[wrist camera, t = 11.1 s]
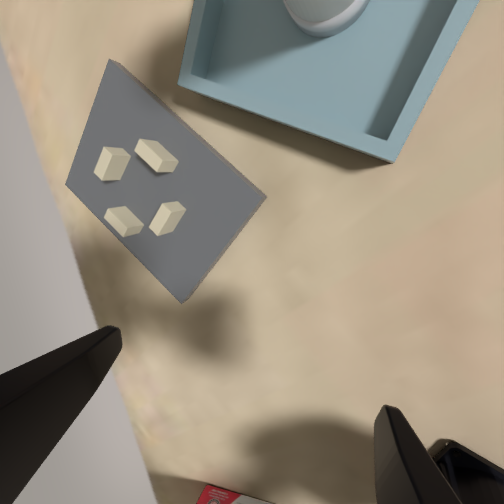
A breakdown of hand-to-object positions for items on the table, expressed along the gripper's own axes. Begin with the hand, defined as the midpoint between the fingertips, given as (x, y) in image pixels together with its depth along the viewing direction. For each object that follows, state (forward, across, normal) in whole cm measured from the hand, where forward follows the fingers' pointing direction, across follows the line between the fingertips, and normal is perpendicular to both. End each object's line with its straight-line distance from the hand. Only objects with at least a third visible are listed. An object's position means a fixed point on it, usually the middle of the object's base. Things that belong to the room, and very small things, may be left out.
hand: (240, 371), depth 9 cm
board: (+15, +12, 0) cm, 19 cm away
